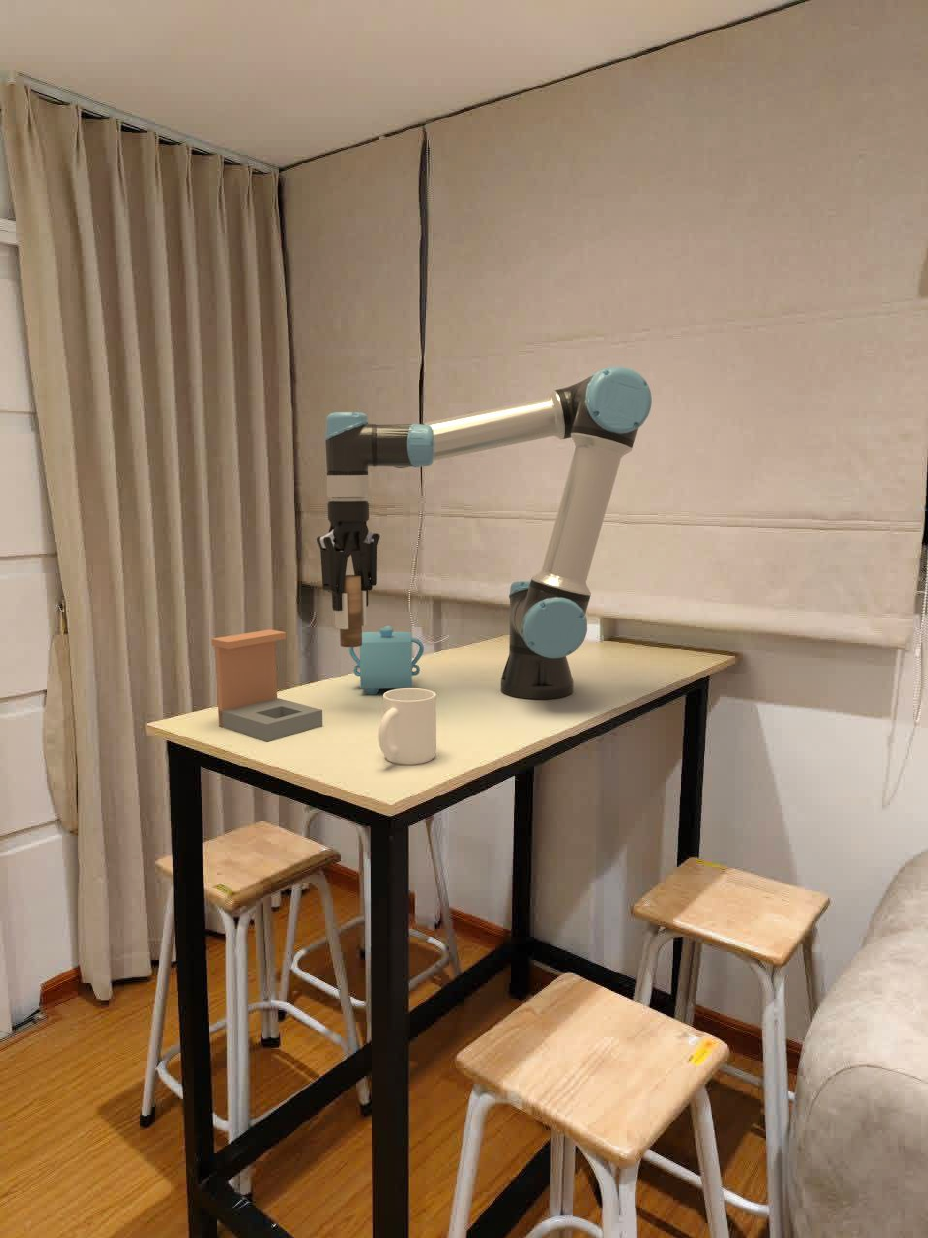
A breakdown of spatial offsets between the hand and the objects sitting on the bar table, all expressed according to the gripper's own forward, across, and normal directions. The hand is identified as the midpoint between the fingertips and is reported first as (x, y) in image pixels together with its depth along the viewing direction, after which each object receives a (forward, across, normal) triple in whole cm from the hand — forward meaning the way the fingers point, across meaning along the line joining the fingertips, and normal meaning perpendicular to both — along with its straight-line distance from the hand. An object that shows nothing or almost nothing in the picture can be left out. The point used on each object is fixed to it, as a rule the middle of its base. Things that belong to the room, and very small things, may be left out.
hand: (351, 626), depth 159 cm
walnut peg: (+4, 0, 0) cm, 4 cm away
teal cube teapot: (+17, -19, -10) cm, 27 cm away
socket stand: (+16, +16, -4) cm, 23 cm away
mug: (+17, +14, +27) cm, 35 cm away
